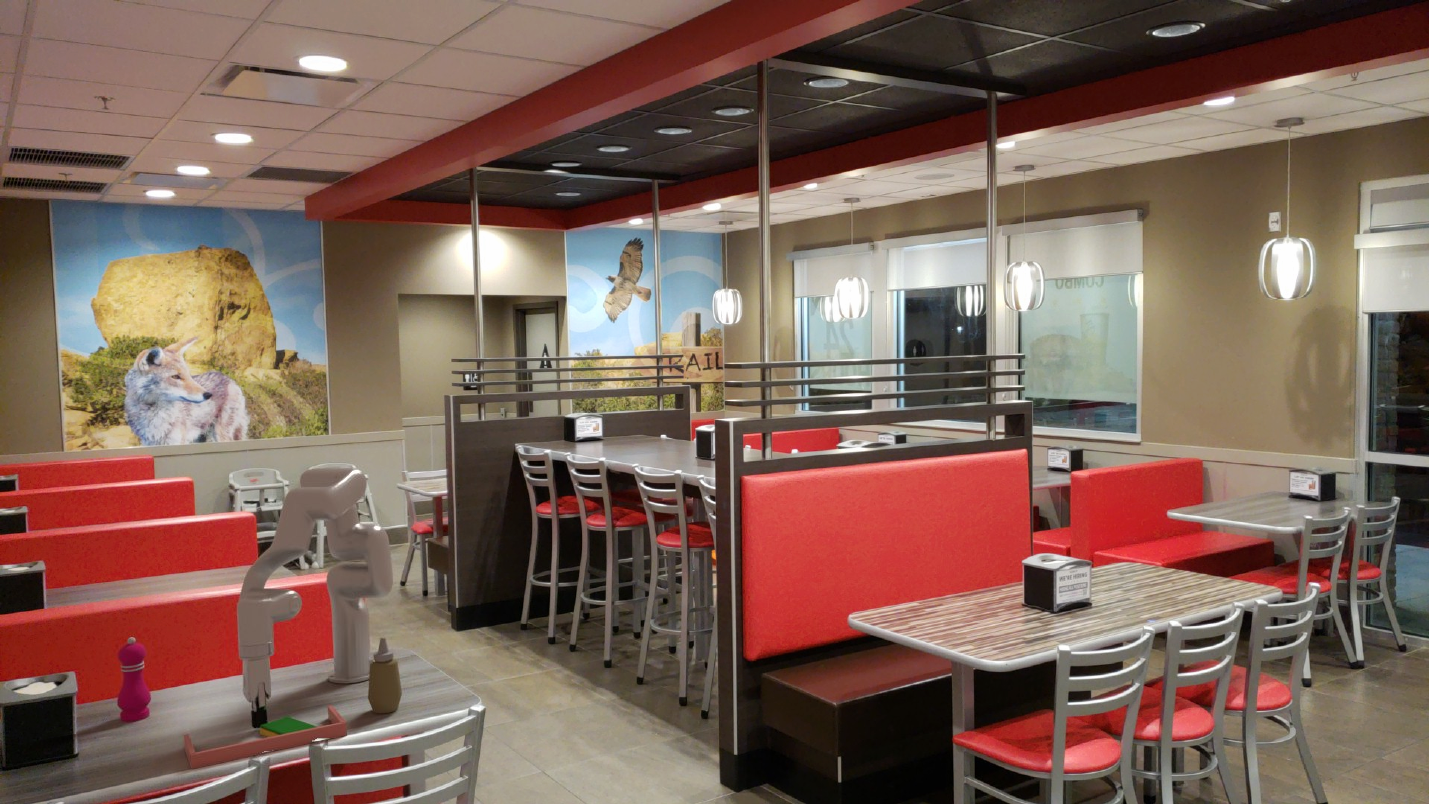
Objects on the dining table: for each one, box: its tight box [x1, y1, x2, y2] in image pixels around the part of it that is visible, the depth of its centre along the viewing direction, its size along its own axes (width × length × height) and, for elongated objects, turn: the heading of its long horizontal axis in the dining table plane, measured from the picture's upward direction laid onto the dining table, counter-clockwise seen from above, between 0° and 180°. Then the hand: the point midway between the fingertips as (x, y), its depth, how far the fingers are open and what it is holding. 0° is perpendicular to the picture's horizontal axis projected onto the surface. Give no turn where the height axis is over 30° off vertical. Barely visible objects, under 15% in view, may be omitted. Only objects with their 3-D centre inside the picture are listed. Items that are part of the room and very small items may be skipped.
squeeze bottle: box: [367, 637, 403, 714], centre depth 247 cm, size 8×8×18 cm
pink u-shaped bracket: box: [183, 705, 348, 770], centre depth 228 cm, size 32×14×3 cm, turn 123°
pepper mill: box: [116, 636, 152, 723], centre depth 246 cm, size 7×7×20 cm
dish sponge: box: [259, 716, 318, 738], centre depth 232 cm, size 7×14×2 cm, turn 53°
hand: (259, 726), depth 236 cm, fingers closed
